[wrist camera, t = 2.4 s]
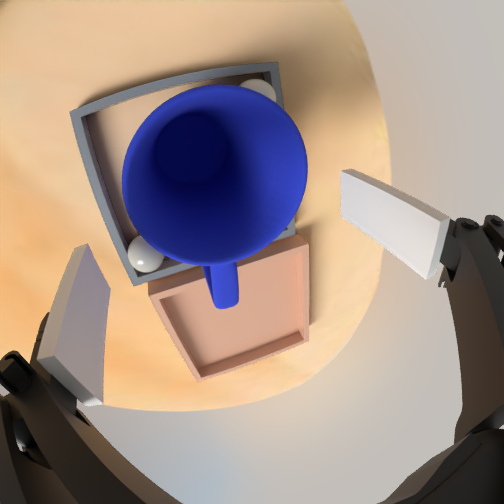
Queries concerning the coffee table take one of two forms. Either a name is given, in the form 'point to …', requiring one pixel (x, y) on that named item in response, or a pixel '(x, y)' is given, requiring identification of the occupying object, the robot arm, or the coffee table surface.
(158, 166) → the mug
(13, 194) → the coffee table surface
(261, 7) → the coffee table surface
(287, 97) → the coffee table surface
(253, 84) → the pebble
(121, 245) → the slate bin
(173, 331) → the terracotta dish
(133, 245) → the pebble
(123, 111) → the coffee table surface
